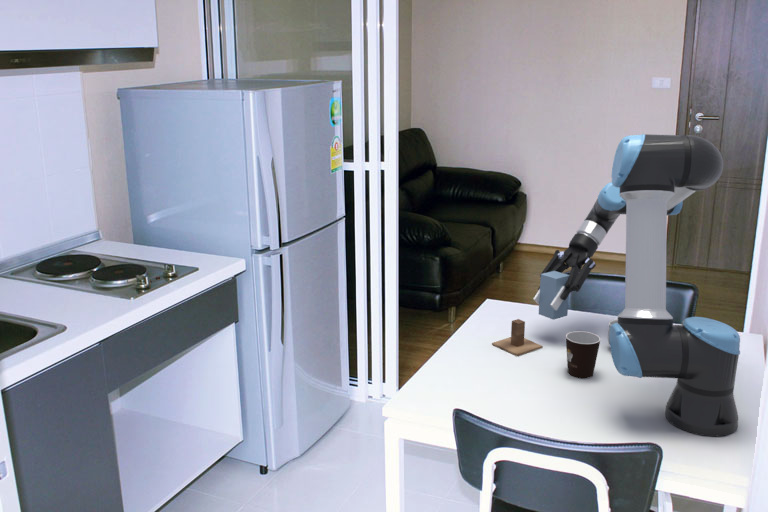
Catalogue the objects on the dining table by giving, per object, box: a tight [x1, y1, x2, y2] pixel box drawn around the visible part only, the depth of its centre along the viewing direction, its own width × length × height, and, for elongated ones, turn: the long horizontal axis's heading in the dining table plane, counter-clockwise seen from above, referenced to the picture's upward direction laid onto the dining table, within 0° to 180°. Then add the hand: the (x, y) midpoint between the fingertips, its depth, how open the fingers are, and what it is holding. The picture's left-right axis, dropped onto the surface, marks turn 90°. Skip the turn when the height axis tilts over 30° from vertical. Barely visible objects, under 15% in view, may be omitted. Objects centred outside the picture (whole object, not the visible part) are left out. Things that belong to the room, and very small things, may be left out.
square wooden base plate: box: [491, 318, 544, 357], centre depth 203 cm, size 10×10×8 cm
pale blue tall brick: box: [538, 271, 570, 321], centre depth 204 cm, size 6×6×12 cm
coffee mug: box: [565, 330, 601, 380], centre depth 187 cm, size 12×9×10 cm
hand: (544, 304), depth 203 cm, fingers closed on pale blue tall brick, 6 cm apart
